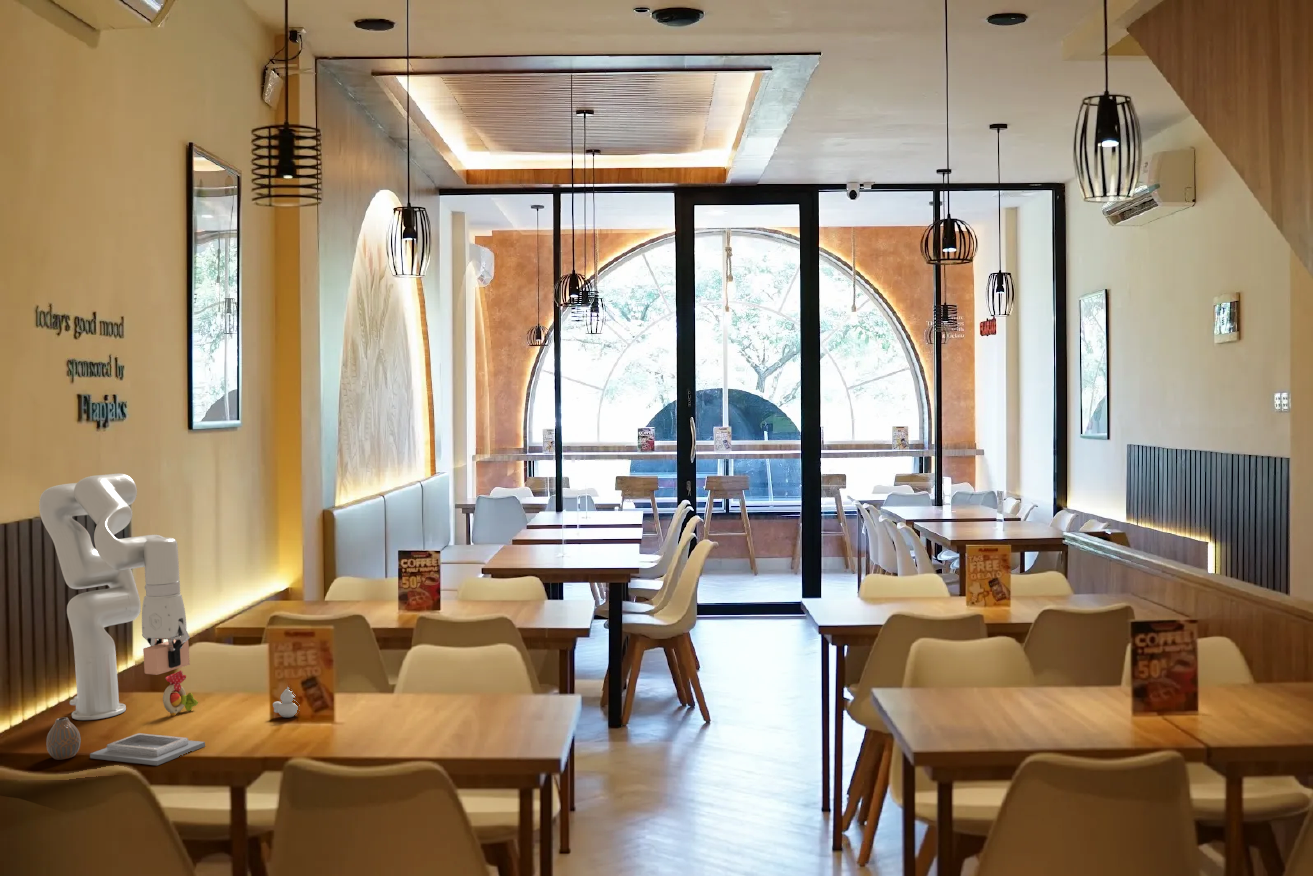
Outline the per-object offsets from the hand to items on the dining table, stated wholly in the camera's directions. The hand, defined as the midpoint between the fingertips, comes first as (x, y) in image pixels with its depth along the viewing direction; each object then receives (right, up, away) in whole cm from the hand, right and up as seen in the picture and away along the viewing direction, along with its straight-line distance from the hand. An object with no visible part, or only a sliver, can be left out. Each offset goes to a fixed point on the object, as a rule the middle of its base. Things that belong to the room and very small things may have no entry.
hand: (167, 665), depth 280 cm
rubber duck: (+26, -15, +10) cm, 31 cm away
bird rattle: (-4, -16, +18) cm, 24 cm away
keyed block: (0, -1, 0) cm, 1 cm away
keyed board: (+2, -17, -15) cm, 23 cm away
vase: (-17, -18, -16) cm, 29 cm away
